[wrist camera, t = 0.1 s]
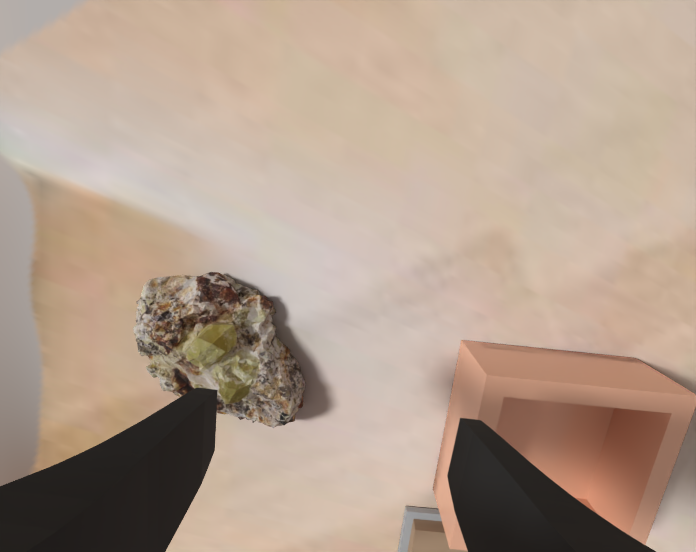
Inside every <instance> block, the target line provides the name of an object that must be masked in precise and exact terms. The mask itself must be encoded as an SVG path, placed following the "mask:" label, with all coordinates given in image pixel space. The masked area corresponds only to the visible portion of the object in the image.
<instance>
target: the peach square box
mask: <svg viewBox="0 0 696 552" xmlns="http://www.w3.org/2000/svg"><path fill="white" fill-rule="evenodd" d="M695 408H696V394H694V393H693V392H691V391H689V390H688V389H686V388H684V387H683V386H681V385H679V384H678V383H676V382H675V381H673V380H671V379H670V378H668V377H666V376H665V375H663V374H661V373H660V372H658V371H656V370H655V369H653V368H651V367H650V366H648V365H646V364H645V363H643V362H641V361H640V360H638V359H637V358H631V357H621V356H612V355H602V354H592V353H582V352H573V351H563V350H553V349H543V348H534V347H524V346H514V345H504V344H495V343H485V342H475V341H465V340H461V345H460V351H459V356H458V361H457V366H456V371H455V377H454V382H453V387H452V392H451V397H450V403H449V408H448V413H447V418H446V423H445V428H444V434H443V439H442V444H441V449H440V454H439V460H438V465H437V470H436V475H435V480H434V486H433V491H434V494H435V498H436V502H437V505H438V509H439V512H440V516H441V520H442V523H443V527H444V531H445V534H446V538H447V541H448V545H449V549H456V550H467V547H466V544H465V541H464V538H463V535H462V532H461V529H460V526H459V523H458V520H457V517H456V514H455V511H454V507H453V502H452V498H451V493H450V488H449V482H448V477H447V475H448V470H449V466H450V461H451V457H452V452H453V448H454V443H455V439H456V434H457V430H458V425H459V421H460V418H467V419H475V420H481V421H482V422H484V423H485V424H486V425H488V426H489V427H490V428H491V429H492V430H494V431H495V432H496V433H497V434H498V435H499V436H501V437H502V438H503V439H504V440H505V441H506V442H508V443H509V444H510V445H511V446H512V447H513V448H514V449H516V450H517V451H518V452H519V453H520V454H521V455H522V456H524V457H525V458H526V459H527V460H528V461H529V462H531V463H532V464H533V465H534V466H535V467H537V468H538V469H539V470H540V471H541V472H543V473H544V474H545V475H546V476H548V477H549V478H550V479H551V480H552V481H554V482H555V483H556V484H558V485H559V486H560V487H561V488H563V489H564V490H565V491H567V492H568V493H569V494H570V495H572V496H573V497H574V498H576V499H577V500H578V501H580V502H581V503H582V504H584V505H585V506H587V507H588V508H589V509H591V510H592V511H594V512H595V513H597V514H598V515H600V516H601V517H602V518H604V519H605V520H607V521H608V522H610V523H611V524H613V525H614V526H616V527H617V528H619V529H620V530H622V531H623V532H625V533H626V534H628V535H630V536H631V537H633V538H634V539H636V540H637V541H639V542H641V543H642V544H644V545H645V544H646V541H647V538H648V536H649V533H650V530H651V527H652V525H653V522H654V519H655V516H656V514H657V511H658V508H659V506H660V503H661V500H662V497H663V495H664V492H665V489H666V487H667V484H668V481H669V478H670V476H671V473H672V470H673V467H674V465H675V462H676V459H677V457H678V454H679V451H680V448H681V446H682V443H683V440H684V438H685V435H686V432H687V429H688V427H689V424H690V421H691V419H692V416H693V413H694V410H695ZM467 551H468V550H467Z"/></svg>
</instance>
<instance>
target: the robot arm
mask: <svg viewBox="0 0 696 552" xmlns="http://www.w3.org/2000/svg"><path fill="white" fill-rule="evenodd" d="M217 392H218V390H214V389H205V388H195V389H193V390H191V391H190V392H188V393H186V394H185V395H183V396H181V397H180V398H178V399H177V400H175V401H173V402H172V403H170V404H169V405H167V406H165V407H164V408H162V409H160V410H159V411H157V412H156V413H154V414H152V415H151V416H149V417H147V418H146V419H144V420H142V421H141V422H139V423H137V424H135V425H133V426H132V427H130V428H128V429H126V430H124V431H123V432H121V433H119V434H117V435H115V436H114V437H112V438H110V439H108V440H106V441H104V442H102V443H101V444H99V445H97V446H95V447H93V448H91V449H88V450H86V451H84V452H82V453H80V454H78V455H76V456H74V457H71V458H69V459H67V460H65V461H63V462H60V463H58V464H56V465H53V466H51V467H49V468H46V469H44V470H41V471H39V472H36V473H33V474H31V475H28V476H26V477H23V478H21V479H18V480H15V481H13V482H10V483H8V484H5V485H3V486H0V552H165V551H166V549H167V547H168V545H169V544H170V542H171V540H172V538H173V536H174V534H175V532H176V531H177V529H178V527H179V525H180V523H181V521H182V520H183V518H184V516H185V514H186V512H187V510H188V508H189V506H190V505H191V503H192V501H193V499H194V497H195V495H196V493H197V491H198V489H199V488H200V486H201V484H202V481H203V479H204V476H205V474H206V471H207V469H208V466H209V464H210V461H211V458H212V456H213V453H214V450H215V432H216V412H217ZM447 477H448V482H449V488H450V493H451V498H452V502H453V507H454V511H455V514H456V517H457V520H458V523H459V526H460V529H461V532H462V535H463V538H464V541H465V544H466V547H467V550H468V552H656V551H654V550H652V549H651V548H649V547H647V546H646V545H644V544H642V543H641V542H639V541H637V540H636V539H634V538H633V537H631V536H630V535H628V534H626V533H625V532H623V531H622V530H620V529H619V528H617V527H616V526H614V525H613V524H611V523H610V522H608V521H607V520H605V519H604V518H602V517H601V516H600V515H598V514H597V513H595V512H594V511H592V510H591V509H589V508H588V507H587V506H585V505H584V504H582V503H581V502H580V501H578V500H577V499H576V498H574V497H573V496H572V495H570V494H569V493H568V492H567V491H565V490H564V489H563V488H561V487H560V486H559V485H558V484H556V483H555V482H554V481H552V480H551V479H550V478H549V477H548V476H546V475H545V474H544V473H543V472H541V471H540V470H539V469H538V468H537V467H535V466H534V465H533V464H532V463H531V462H529V461H528V460H527V459H526V458H525V457H524V456H522V455H521V454H520V453H519V452H518V451H517V450H516V449H514V448H513V447H512V446H511V445H510V444H509V443H508V442H506V441H505V440H504V439H503V438H502V437H501V436H499V435H498V434H497V433H496V432H495V431H494V430H492V429H491V428H490V427H489V426H488V425H486V424H485V423H484V422H482V421H481V420H475V419H467V418H460V421H459V425H458V430H457V434H456V439H455V443H454V448H453V452H452V457H451V461H450V466H449V470H448V475H447Z"/></svg>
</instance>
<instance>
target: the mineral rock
mask: <svg viewBox="0 0 696 552" xmlns="http://www.w3.org/2000/svg"><path fill="white" fill-rule="evenodd" d="M137 304H139V306H138V307H137V309H138V311H136V319H137V320H136V323H137V324H136V325H135V327H134V328H133V329H134V334H135V337H136V341H137V344H138V352H139V353H140V354H141V356H144V355H147V356H148V357H149V359H150V361H151V362H150V365H148V366H146V369H147V371H148V372H149V374H150V375H151V376H152V377H158V378H160V386H161V388H162V390H163V391H171V392H173V393H174V394H175V395H177V396H180V397H181V396H183V395H185V394H186V393H188V392H190V391H191V390H193V389H195V388H205V389H214V390H218V392H217V413H221V414H229V415H233V416H236V417H238V418H239V419H240V420H241V419H243V418H246V419H247V420H252V421H253V422H255V421H256V420H257V421H258V422H259V423H263V424H265V425H267V426H270V427H273V428H274V427H276V426H282V425H285V424H286V423H288V422H293V421H295V414H296V412H297V411H298V409H299V408H302V406H303V396H302V394H303V392H304V389H305V384H306V383H305V381H304V378H303V376H302V373H301V372H300V367H299V366H298V362H297V361H296V359H295V358H294V357H293V356H292V355H291V353H290V350H289V349H288V348H287V347H286V346H285V345H284V344H282V343H281V342H280V340H279V339H278V337H277V336H276V334H275V330H276V326H274V325H273V324H272V321H273V320H272V315H273V314H275V313H276V310H275V309H274V306H273V301H268V298H267V297H266V296H261V295H260V294H259V292H258V290H256V289H250V288H248V287H245V286H243V285H241V284H237V283H235V281H234V279H232V278H230V277H227V276H226V275H222V274H220V273H216V272H210V273H207V274H205V275H202V276H197V277H192V276H186V275H177V276H170V277H158V278H154V279H150V280H148V281H147V282H146V283H145V285H144V287H143V291H142V294H141V298H140V299H139V300H138V301H137Z"/></svg>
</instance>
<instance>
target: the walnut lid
mask: <svg viewBox="0 0 696 552" xmlns="http://www.w3.org/2000/svg"><path fill="white" fill-rule="evenodd" d="M407 552H468V551H467V550H456V549H449V545H448V541H447V538H446V534H445V531H444V527H443V523H442V521H433V520H422V519H413V523H412V529H411V534H410V540H409V545H408V551H407Z"/></svg>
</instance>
